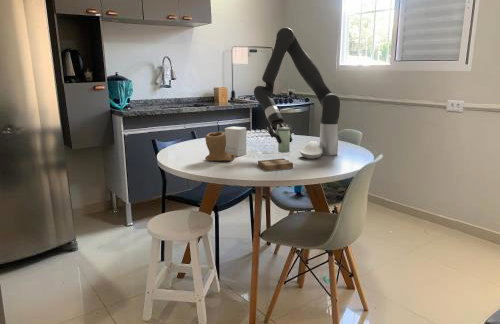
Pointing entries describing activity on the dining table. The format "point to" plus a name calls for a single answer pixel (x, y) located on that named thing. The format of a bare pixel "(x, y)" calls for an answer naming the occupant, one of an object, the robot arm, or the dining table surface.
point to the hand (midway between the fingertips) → (285, 141)
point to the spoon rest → (311, 150)
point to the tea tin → (284, 139)
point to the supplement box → (235, 140)
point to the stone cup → (217, 147)
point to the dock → (275, 164)
